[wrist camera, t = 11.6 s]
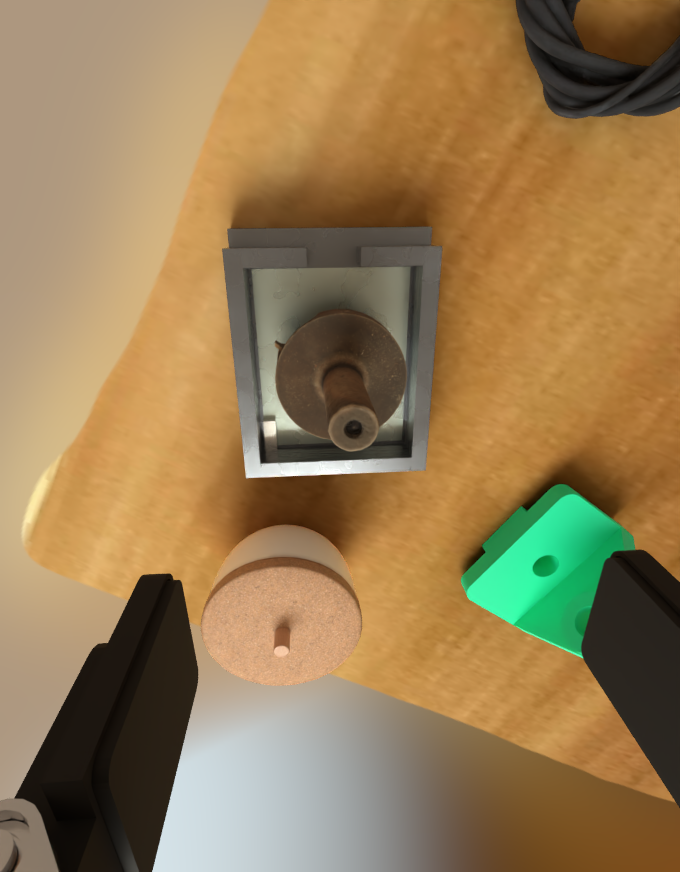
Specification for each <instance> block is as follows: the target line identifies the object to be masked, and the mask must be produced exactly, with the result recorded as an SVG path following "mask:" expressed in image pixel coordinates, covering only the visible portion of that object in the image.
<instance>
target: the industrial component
mask: <svg viewBox="0 0 680 872" xmlns="http://www.w3.org/2000/svg"><path fill="white" fill-rule="evenodd" d="M274 346H275V347H276V348H277V349H279V350H278V355H277V365H276V372H275V385H276V391H277V395H278V398H279V401H280V403H281V405H282V407H283V409H284V411H285V412H286V414H287V415H288V416H289V418H290V419H291V420H292V421H293V422H294V423H295V424H296V425H298V426H299V427H300V428H301V429H303V430H304V431H306V432H308V433H310V434H312V435H314V436H317V437H320V438H323V439H329V440H332V441H333V442H334V444H335V445H336V446H338V447H339V448H341V449H344V450H346V451H357V450H362V449H364V448H366V447H368V446H370V445H371V444H372V443H373V442H374V441H375V439H376V437H377V435H378V432H379V427H381V426H382V425H383V424H384V423H386V422H387V421H388V419H390V417H391V416H392V415H393V414H394V413H395V411H396V410H397V408H398V406H399V404H401V400H402V398H403V395H404V392H405V387H406V381H407V369H406V363H405V359H404V355H403V353H402V350H401V348H400V346H399V344H398V343H397V341H396V340H395V338H394V337H393V336H392V335H391V334H390V332H389V331H388V330H387V329H386V328H385V327H384V326H383V325H382V324H381V323H380V322H378V321H377V320H376V319H374V318H372V317H371V316H369V315H367V314H364V313H362V312H359V311H355V310H349V309H332V310H326V311H323V312H319V313H318V314H317V315H316V316H315V317H313V318H312V319H311V320H309V321H308V322H306V323H305V324H303V325H302V326H301V327H300V328H298V329H297V330H296V331H295V332H294V333H293V334H292V335H291V336H290V338H289V339H288V340H287V342H286V343H285V344H284V343H283V344H282V343H280V342H278V341H276V340H275V345H274Z"/></svg>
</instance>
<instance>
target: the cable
mask: <svg viewBox="0 0 680 872" xmlns="http://www.w3.org/2000/svg"><path fill="white" fill-rule="evenodd" d="M579 1H580V0H516V7H517V12H518V17H519V20H520V23H521V25H522V27H523V29H524V33H525V41H526V46H527V50H528V53H529V56H530V58H531V61H532V62H533V64H534V66H535V68H536V69H537V72H538V75H539V77H540V79H541V81H542V84H543V93H544V97H545V101H546V103H547V105H548V107H549V108H550V109H551V110H552V112H554V113H555V114H556V115H559V116H562V117H566V118H575V119H577V118H584V117H588V116H598V117H603V116H613V115H618V114H622V113H625V114H628V115H633V116H655V115H659V114H663V113H666V112H669V111H672V110H674V109H676V108H678V107H680V36H679V37H678V38H677V40H676V41H675V42H674V43H673V45H672V46H671V47H669V49H668V50H667V51H666V52H665V53H663V54H662V55H661V56H660V57H659V58H658V59H657V60H656V61H655V62H654V63H653V64H652V65H651V66H639V65H633V64H628V63H624V62H620V61H617V60H614V59H609V58H607V57H603V56H600V55H597V54H594V53H590V52H587V51H585V49H584V48H583V45H582V43H581V41H580V39H579V37H578V35H577V32H576V30H575V28H574V26H573V23H572V21H573V19H574V14H575V10H576V5H577V3H578V2H579Z"/></svg>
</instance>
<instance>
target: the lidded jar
mask: <svg viewBox="0 0 680 872" xmlns="http://www.w3.org/2000/svg"><path fill="white" fill-rule="evenodd" d="M361 630H362V615H361V609H360V605H359V601H358V598H357V594H356V589H355V585H354V581H353V578H352V575H351V572H350V570H349V567H348V565H347V563H346V561H345V559H344V557H343V556H342V554H341V553H340V552H339V550H338V549H337V548H336V547H335V546H334V545H333V544H332V543H331V542H330V541H329V540H328V539H327V538H325V537H324V536H322V535H321V534H319V533H317V532H315V531H313V530H311V529H308V528H305V527H302V526H297V525H276V526H271V527H267V528H264V529H261V530H259V531H256V532H254V533H253V534H251V535H249V536H247V537H246V538H245V539H243V540H242V541H241V542H240V543H239V544H237V545H236V546H235V547H234V548H233V549H232V550H231V552H230V553H229V554H228V556H227V557H226V559H225V560H224V562H223V563H222V565H221V567H220V569H219V571H218V573H217V575H216V578H215V580H214V582H213V585H212V588H211V591H210V595H209V597H208V599H207V601H206V604H205V607H204V611H203V615H202V619H201V632H202V637H203V641H204V643H205V646H206V648H207V650H208V651H209V653H210V654H211V655H212V657H213V659H214V660H216V661H217V662H218V663H219V664H220V665H221V666H222V667H223V668H225V669H226V670H227V671H228V672H230V673H232V674H234V675H236V676H238V677H240V678H243V679H245V680H248V681H251V682H256V683H259V684H266V685H295V684H300V683H304V682H308V681H311V680H315V679H318V678H320V677H322V676H324V675H326V674H328V673H330V672H331V671H333V670H335V669H336V668H337V667H338V666H340V665H341V664H342V663H343V662H344V661H345V660H346V659H347V658H348V657H349V656H350V655H351V653H352V652H353V650H354V649H355V647H356V645H357V643H358V641H359V638H360V635H361Z"/></svg>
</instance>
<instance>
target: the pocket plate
mask: <svg viewBox="0 0 680 872" xmlns="http://www.w3.org/2000/svg"><path fill="white" fill-rule="evenodd" d="M227 231H228V241H229V248H223V249H222V252H223V261H224V271H225V281H226V290H227V300H228V309H229V319H230V328H231V338H232V348H233V357H234V367H235V376H236V386H237V395H238V405H239V414H240V424H241V434H242V443H243V453H244V462H245V472H246V478H257V477H281V476H304V475H328V474H352V473H375V472H399V471H422V470H426V458H427V445H428V431H429V418H430V405H431V391H432V378H433V365H434V351H435V338H436V324H437V311H438V298H439V284H440V271H441V258H442V246H436V245H431V237H432V227H360V228H252V229H227ZM332 309H349V310H355V311H359V312H362V313H364V314H367V315H369V316H371V317H372V318H374V319H376V320H377V321H378V322H380V323H381V324H382V325H383V326H384V327H385V328H386V329H387V330H388V331H389V332H390V334H391V335H392V336H393V337H394V338H395V340H396V341H397V343H398V344H399V346H400V348H401V350H402V353H403V355H404V359H405V363H406V369H407V381H406V387H405V392H404V395H403V398H402V400H401V404H399V406H398V408H397V410H396V411H395V413H394V414H393V415H392V416H391V417H390V419H388V421H387V422H386V423H384V424H383V425H382V426H381V427H379V432H378V435H377V437H376V439H375V441H374V442H373V443H372V444H371V445H370V446H368V447H366V448H364V449H362V450H357V451H346V450H344V449H341V448H339V447H338V446H336V445H335V444H334V442H333V441H332V440H329V439H323V438H320V437H317V436H314V435H312V434H310V433H308V432H306V431H304V430H303V429H301V428H300V427H299V426H298V425H296V424H295V423H294V422H293V421H292V420H291V419H290V418H289V416H288V415H287V414H286V412H285V411H284V409H283V407H282V405H281V403H280V401H279V398H278V395H277V391H276V385H275V372H276V365H277V355H278V350H279V349H277V348H276V347H275V346H274V345H275V340H276V341H278V342H280V343H282V344H283V343H284V344H285V343H286V342H287V340H288V339H289V338H290V336H291V335H292V334H293V333H294V332H295V331H296V330H297V329H298V328H300V327H301V326H302V325H303V324H305V323H306V322H308V321H309V320H311V319H312V318H313V317H315V316H316V315H317V314H318V313H319V312H323V311H326V310H332Z"/></svg>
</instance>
